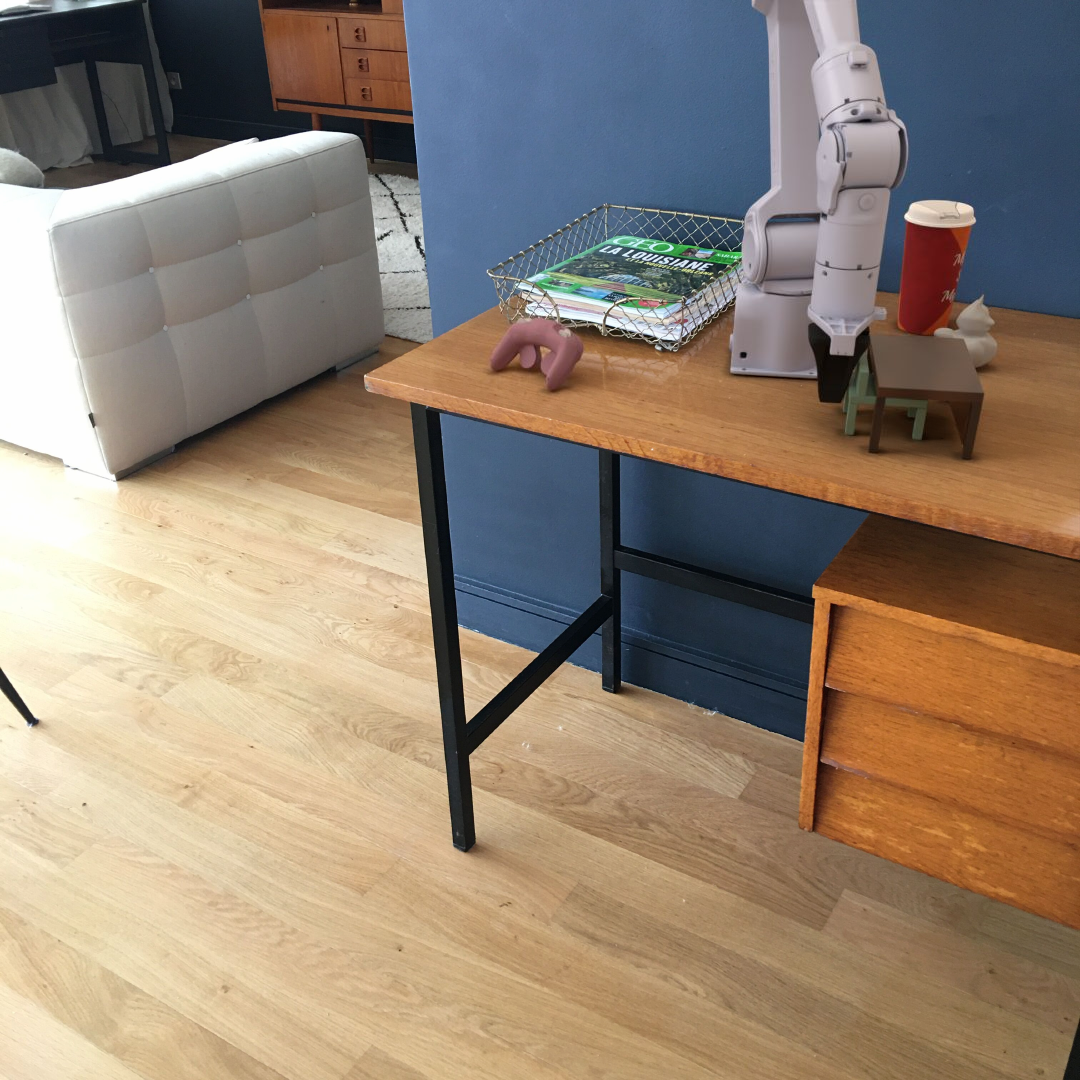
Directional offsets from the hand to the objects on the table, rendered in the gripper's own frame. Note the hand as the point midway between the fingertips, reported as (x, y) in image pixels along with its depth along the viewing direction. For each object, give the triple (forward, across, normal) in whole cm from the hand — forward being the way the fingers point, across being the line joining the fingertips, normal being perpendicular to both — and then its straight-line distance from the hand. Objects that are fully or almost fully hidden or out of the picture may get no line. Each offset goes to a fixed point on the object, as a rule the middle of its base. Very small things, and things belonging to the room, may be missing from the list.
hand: (830, 400), depth 106 cm
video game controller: (+2, +7, +30) cm, 31 cm away
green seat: (+2, 0, -5) cm, 5 cm away
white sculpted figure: (+2, +17, -14) cm, 22 cm away
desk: (+2, 0, -8) cm, 8 cm away
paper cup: (+2, +29, -11) cm, 31 cm away
